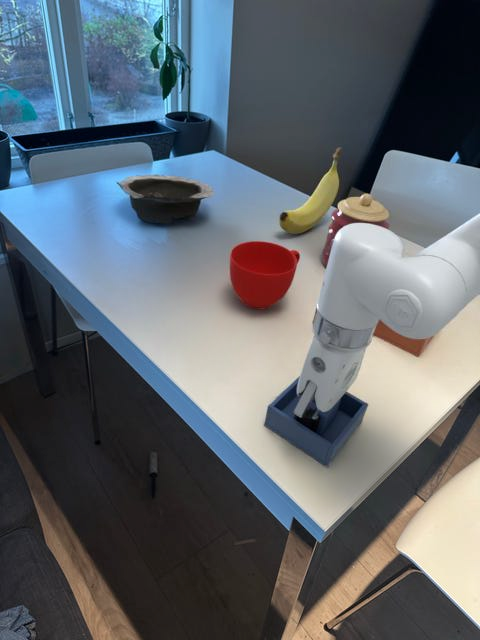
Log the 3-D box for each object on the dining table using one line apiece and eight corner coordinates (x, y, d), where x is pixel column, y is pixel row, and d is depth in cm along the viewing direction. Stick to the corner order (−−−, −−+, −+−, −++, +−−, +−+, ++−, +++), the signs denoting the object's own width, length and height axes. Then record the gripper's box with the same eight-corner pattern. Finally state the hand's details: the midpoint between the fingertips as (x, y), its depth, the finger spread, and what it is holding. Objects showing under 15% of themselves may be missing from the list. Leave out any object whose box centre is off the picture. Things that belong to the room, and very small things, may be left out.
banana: (286, 244, 112) (301, 164, 100) (269, 235, 115) (281, 157, 103) (335, 221, 127) (353, 149, 115) (318, 214, 130) (334, 143, 118)
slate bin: (361, 422, 68) (368, 404, 65) (327, 467, 61) (333, 449, 58) (302, 386, 73) (306, 368, 70) (263, 425, 66) (267, 406, 63)
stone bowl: (138, 237, 107) (135, 199, 102) (109, 204, 125) (105, 170, 119) (229, 223, 117) (231, 188, 112) (191, 194, 135) (190, 162, 130)
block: (334, 420, 67) (341, 399, 64) (319, 438, 64) (325, 417, 61) (308, 404, 69) (314, 383, 66) (292, 421, 66) (298, 400, 63)
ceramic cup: (314, 299, 94) (324, 257, 88) (255, 327, 84) (262, 282, 78) (271, 271, 101) (278, 231, 95) (212, 294, 91) (216, 251, 85)
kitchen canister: (358, 286, 100) (381, 211, 89) (310, 263, 106) (326, 191, 95) (384, 266, 108) (407, 197, 97) (338, 246, 114) (355, 178, 104)
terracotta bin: (437, 331, 89) (444, 314, 86) (418, 356, 82) (426, 339, 79) (387, 308, 94) (393, 292, 91) (365, 330, 87) (371, 313, 84)
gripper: (338, 372, 48) (305, 472, 59) (398, 308, 59) (361, 402, 70) (281, 340, 51) (260, 440, 62) (348, 285, 63) (320, 378, 74)
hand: (314, 419), depth 66 cm, fingers closed on block, 4 cm apart
